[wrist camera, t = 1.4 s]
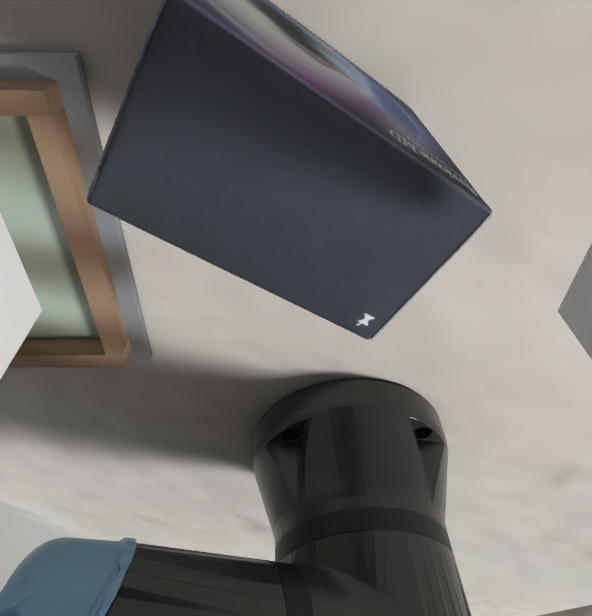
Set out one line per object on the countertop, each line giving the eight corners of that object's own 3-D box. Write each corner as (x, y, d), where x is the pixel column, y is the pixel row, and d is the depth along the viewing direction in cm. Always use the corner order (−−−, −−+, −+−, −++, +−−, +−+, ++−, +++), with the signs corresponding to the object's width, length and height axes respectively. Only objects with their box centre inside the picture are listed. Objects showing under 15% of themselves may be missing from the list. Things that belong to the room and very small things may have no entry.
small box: (423, 105, 22) (511, 212, 14) (341, 213, 25) (371, 350, 17) (218, -49, 18) (168, -27, 10) (153, 103, 21) (77, 213, 13)
